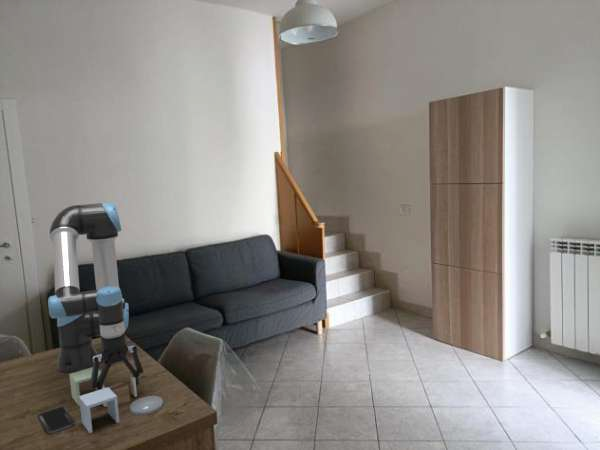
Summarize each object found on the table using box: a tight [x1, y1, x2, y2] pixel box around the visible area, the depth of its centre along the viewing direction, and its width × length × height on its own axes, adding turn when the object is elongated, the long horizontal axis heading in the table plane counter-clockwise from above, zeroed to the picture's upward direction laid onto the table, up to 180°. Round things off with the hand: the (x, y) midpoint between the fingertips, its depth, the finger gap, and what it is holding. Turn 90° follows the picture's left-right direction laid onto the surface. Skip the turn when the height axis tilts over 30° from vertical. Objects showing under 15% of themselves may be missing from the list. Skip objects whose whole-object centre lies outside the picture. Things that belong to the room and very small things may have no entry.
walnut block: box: [108, 381, 131, 406], centre depth 154 cm, size 5×5×5 cm
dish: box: [129, 395, 164, 416], centre depth 149 cm, size 10×10×1 cm
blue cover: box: [79, 386, 121, 434], centre depth 141 cm, size 9×9×8 cm
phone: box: [37, 406, 76, 436], centre depth 143 cm, size 8×1×15 cm
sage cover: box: [69, 366, 105, 407], centre depth 158 cm, size 9×9×8 cm
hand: (119, 400), depth 154 cm, fingers open, 9 cm apart
